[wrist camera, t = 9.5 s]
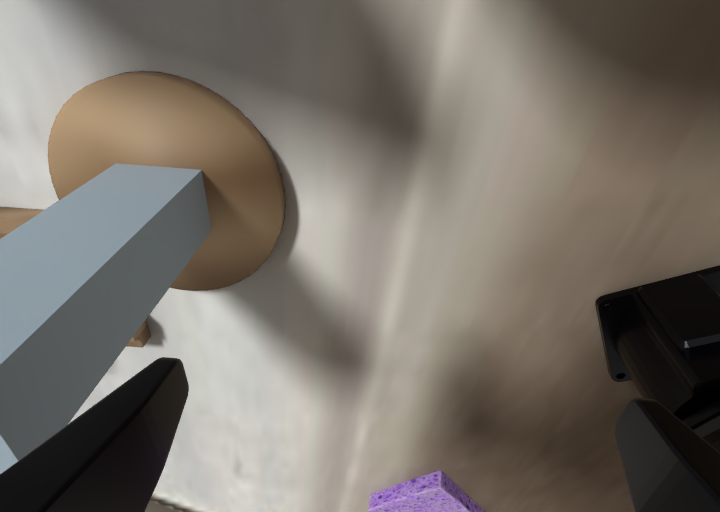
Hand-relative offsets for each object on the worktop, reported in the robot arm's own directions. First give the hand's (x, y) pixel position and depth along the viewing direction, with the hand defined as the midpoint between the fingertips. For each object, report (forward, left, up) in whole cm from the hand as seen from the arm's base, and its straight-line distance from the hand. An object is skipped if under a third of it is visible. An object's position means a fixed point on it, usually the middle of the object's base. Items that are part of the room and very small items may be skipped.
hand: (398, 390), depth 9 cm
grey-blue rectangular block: (+3, +11, -12) cm, 16 cm away
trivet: (+3, +11, -13) cm, 17 cm away
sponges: (-31, +8, -14) cm, 35 cm away
